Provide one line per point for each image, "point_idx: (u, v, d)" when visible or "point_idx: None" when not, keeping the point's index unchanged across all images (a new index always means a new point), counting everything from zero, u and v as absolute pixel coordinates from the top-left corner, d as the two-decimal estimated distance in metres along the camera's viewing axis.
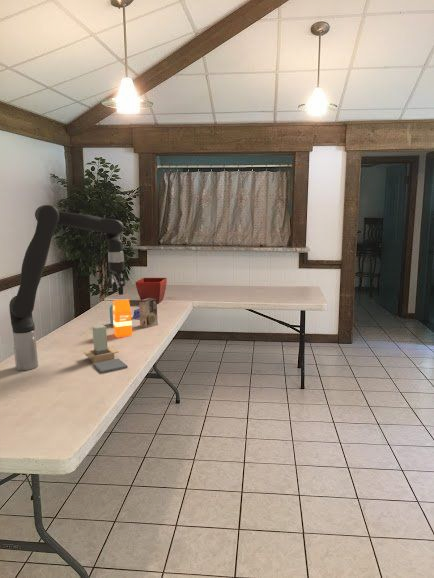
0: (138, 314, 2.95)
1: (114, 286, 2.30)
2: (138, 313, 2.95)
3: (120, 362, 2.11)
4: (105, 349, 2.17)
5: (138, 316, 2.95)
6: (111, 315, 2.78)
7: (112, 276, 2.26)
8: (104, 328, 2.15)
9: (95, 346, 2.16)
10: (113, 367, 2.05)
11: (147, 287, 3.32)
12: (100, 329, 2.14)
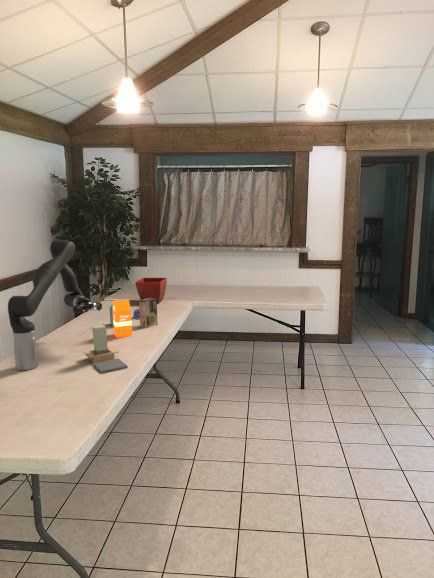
0: (138, 314, 2.95)
1: None
2: (138, 313, 2.95)
3: (120, 362, 2.11)
4: (105, 349, 2.17)
5: (138, 316, 2.95)
6: (111, 315, 2.78)
7: (83, 303, 2.32)
8: (104, 328, 2.15)
9: (95, 346, 2.16)
10: (113, 367, 2.05)
11: (147, 287, 3.32)
12: (100, 329, 2.14)
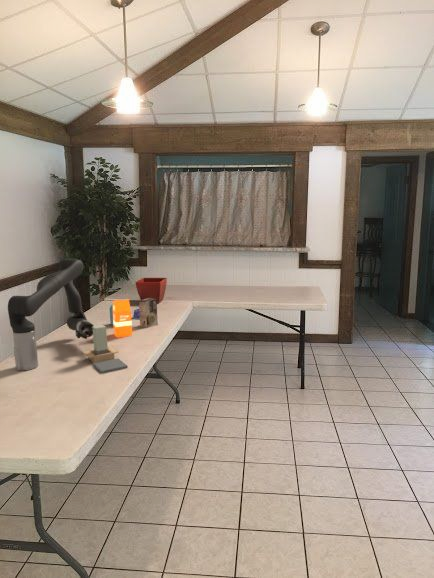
0: (139, 314, 2.95)
1: None
2: (139, 313, 2.95)
3: (120, 362, 2.11)
4: (105, 349, 2.17)
5: (139, 316, 2.95)
6: (111, 315, 2.78)
7: (87, 328, 2.31)
8: (104, 328, 2.15)
9: (95, 346, 2.16)
10: (113, 367, 2.05)
11: (147, 287, 3.32)
12: (100, 329, 2.14)
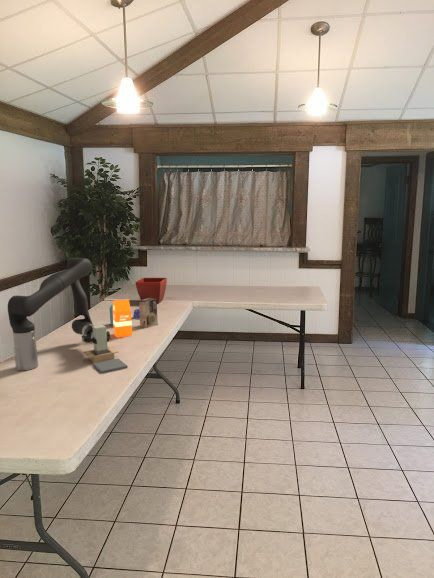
0: (139, 314, 2.95)
1: None
2: (139, 313, 2.95)
3: (120, 362, 2.11)
4: (105, 349, 2.17)
5: (139, 316, 2.95)
6: (111, 315, 2.78)
7: None
8: (104, 328, 2.15)
9: (95, 346, 2.16)
10: (113, 367, 2.05)
11: (147, 287, 3.32)
12: (100, 329, 2.14)
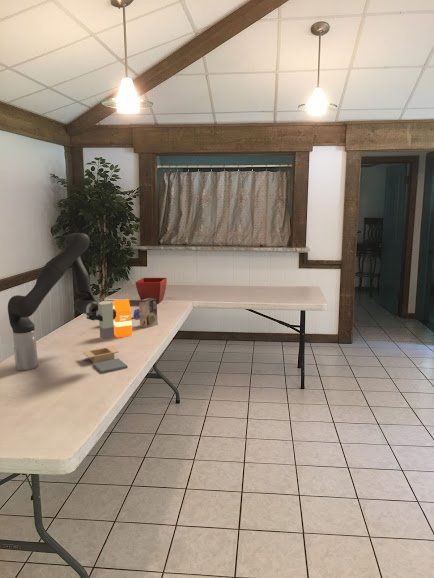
0: (139, 314, 2.95)
1: None
2: (139, 313, 2.95)
3: (120, 362, 2.11)
4: (111, 327, 2.06)
5: (139, 316, 2.95)
6: None
7: None
8: (110, 304, 2.04)
9: (101, 323, 2.05)
10: (113, 367, 2.05)
11: (147, 287, 3.32)
12: (106, 305, 2.03)
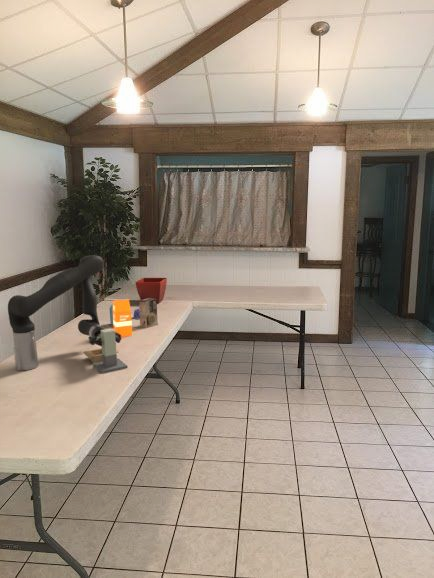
0: None
1: None
2: None
3: (120, 362, 2.11)
4: (113, 354, 2.06)
5: None
6: (111, 315, 2.78)
7: None
8: (113, 332, 2.05)
9: (104, 351, 2.05)
10: (113, 367, 2.05)
11: (147, 287, 3.32)
12: (109, 333, 2.04)
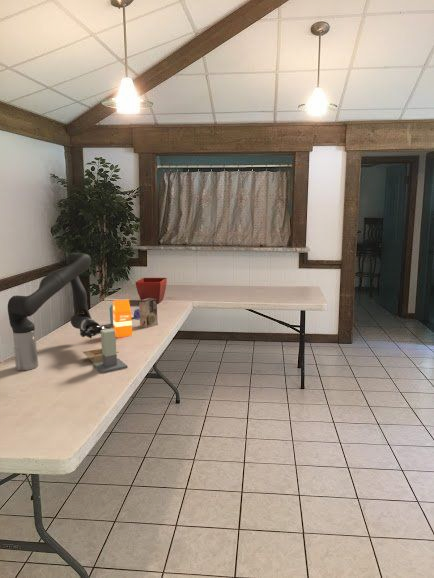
0: None
1: None
2: None
3: (120, 362, 2.11)
4: (113, 354, 2.06)
5: None
6: (111, 315, 2.78)
7: (92, 326, 2.23)
8: (113, 332, 2.04)
9: (104, 351, 2.05)
10: (113, 367, 2.05)
11: (147, 287, 3.32)
12: (109, 333, 2.03)
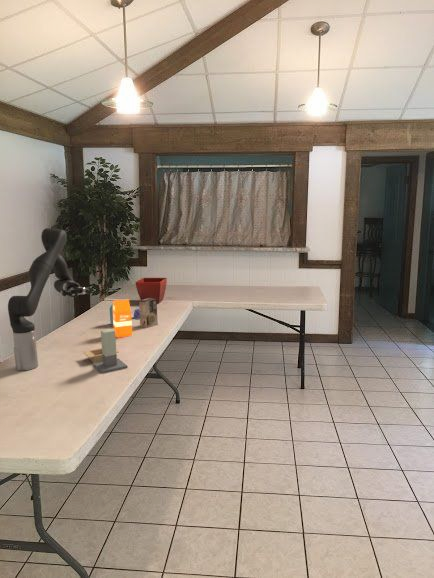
0: None
1: None
2: None
3: (120, 362, 2.11)
4: (113, 354, 2.06)
5: None
6: (111, 315, 2.78)
7: (73, 287, 2.30)
8: (113, 332, 2.04)
9: (104, 351, 2.05)
10: (113, 367, 2.05)
11: (147, 287, 3.32)
12: (109, 333, 2.03)
